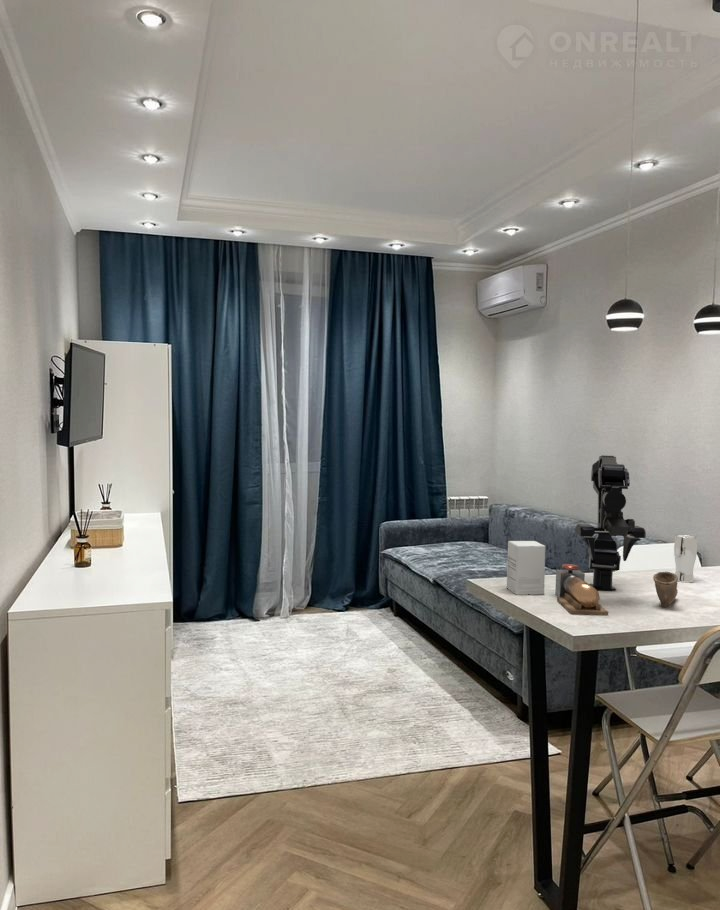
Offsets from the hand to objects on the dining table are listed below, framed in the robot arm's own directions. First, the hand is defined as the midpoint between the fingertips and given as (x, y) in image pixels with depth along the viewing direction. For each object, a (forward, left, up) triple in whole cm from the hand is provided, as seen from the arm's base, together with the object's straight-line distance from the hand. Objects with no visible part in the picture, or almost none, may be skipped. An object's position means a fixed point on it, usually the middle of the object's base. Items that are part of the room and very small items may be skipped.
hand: (608, 560), depth 203 cm
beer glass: (-30, +36, -12) cm, 48 cm away
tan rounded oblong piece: (+8, -10, -10) cm, 17 cm away
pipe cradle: (+8, -10, -12) cm, 18 cm away
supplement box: (-9, -22, -12) cm, 27 cm away
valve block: (-4, -10, -12) cm, 16 cm away
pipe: (+1, +17, -12) cm, 21 cm away
